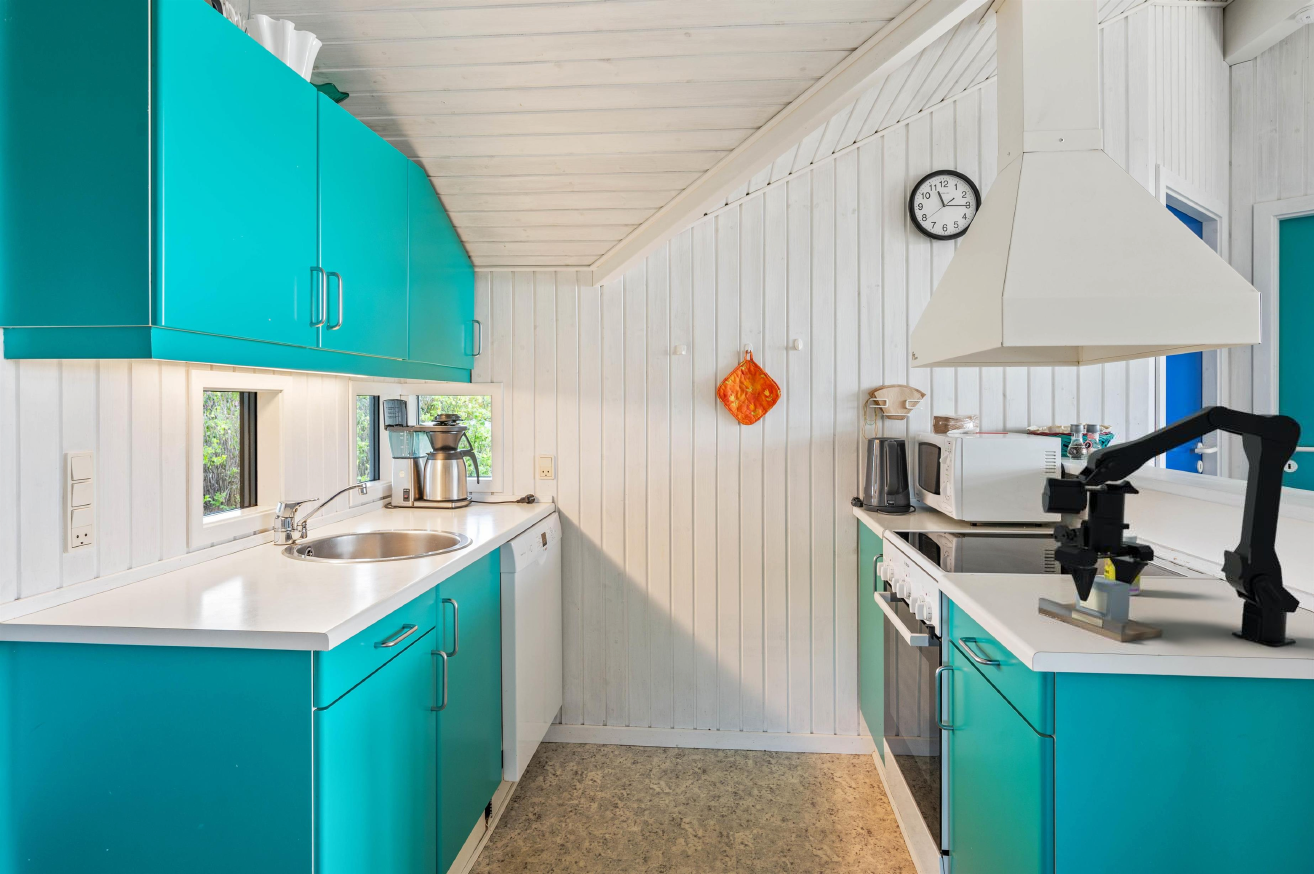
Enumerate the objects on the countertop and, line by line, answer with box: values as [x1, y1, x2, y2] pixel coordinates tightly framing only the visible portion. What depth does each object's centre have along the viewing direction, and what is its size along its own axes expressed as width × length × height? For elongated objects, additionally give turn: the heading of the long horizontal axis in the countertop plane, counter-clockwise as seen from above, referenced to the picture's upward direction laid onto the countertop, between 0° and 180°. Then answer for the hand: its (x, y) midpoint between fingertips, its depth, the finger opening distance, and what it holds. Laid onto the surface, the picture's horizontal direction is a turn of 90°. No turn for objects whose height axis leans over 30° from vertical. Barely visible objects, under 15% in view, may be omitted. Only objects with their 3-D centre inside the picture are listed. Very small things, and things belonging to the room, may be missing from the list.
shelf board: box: [1037, 597, 1163, 643], centre depth 129 cm, size 10×17×3 cm, turn 19°
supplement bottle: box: [1103, 532, 1142, 596], centre depth 152 cm, size 7×7×13 cm
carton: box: [1075, 574, 1131, 623], centre depth 130 cm, size 5×7×7 cm
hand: (1101, 598), depth 130 cm, fingers open, 9 cm apart
